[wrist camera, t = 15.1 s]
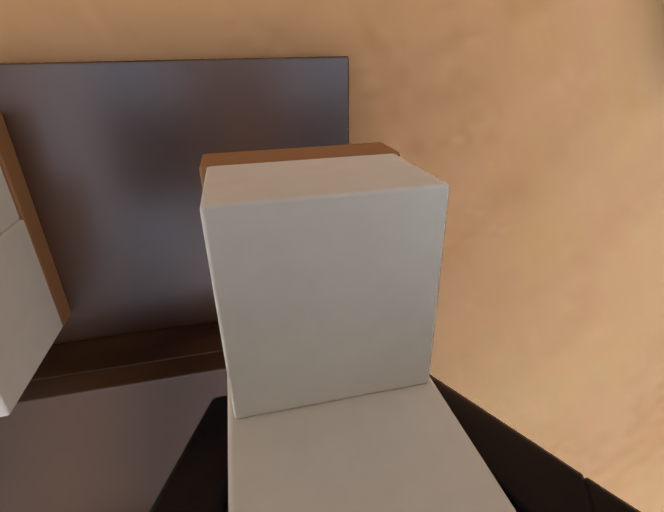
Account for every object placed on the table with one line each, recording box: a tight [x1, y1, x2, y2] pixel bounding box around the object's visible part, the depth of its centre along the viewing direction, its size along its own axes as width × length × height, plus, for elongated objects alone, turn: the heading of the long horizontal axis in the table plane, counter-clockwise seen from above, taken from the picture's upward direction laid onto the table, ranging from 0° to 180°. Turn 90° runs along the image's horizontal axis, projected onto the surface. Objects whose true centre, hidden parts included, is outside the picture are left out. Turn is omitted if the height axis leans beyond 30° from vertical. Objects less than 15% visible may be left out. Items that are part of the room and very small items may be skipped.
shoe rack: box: [0, 56, 349, 512], centre depth 15 cm, size 15×19×6 cm
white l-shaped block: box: [199, 142, 516, 512], centre depth 6 cm, size 7×3×5 cm, turn 1°
